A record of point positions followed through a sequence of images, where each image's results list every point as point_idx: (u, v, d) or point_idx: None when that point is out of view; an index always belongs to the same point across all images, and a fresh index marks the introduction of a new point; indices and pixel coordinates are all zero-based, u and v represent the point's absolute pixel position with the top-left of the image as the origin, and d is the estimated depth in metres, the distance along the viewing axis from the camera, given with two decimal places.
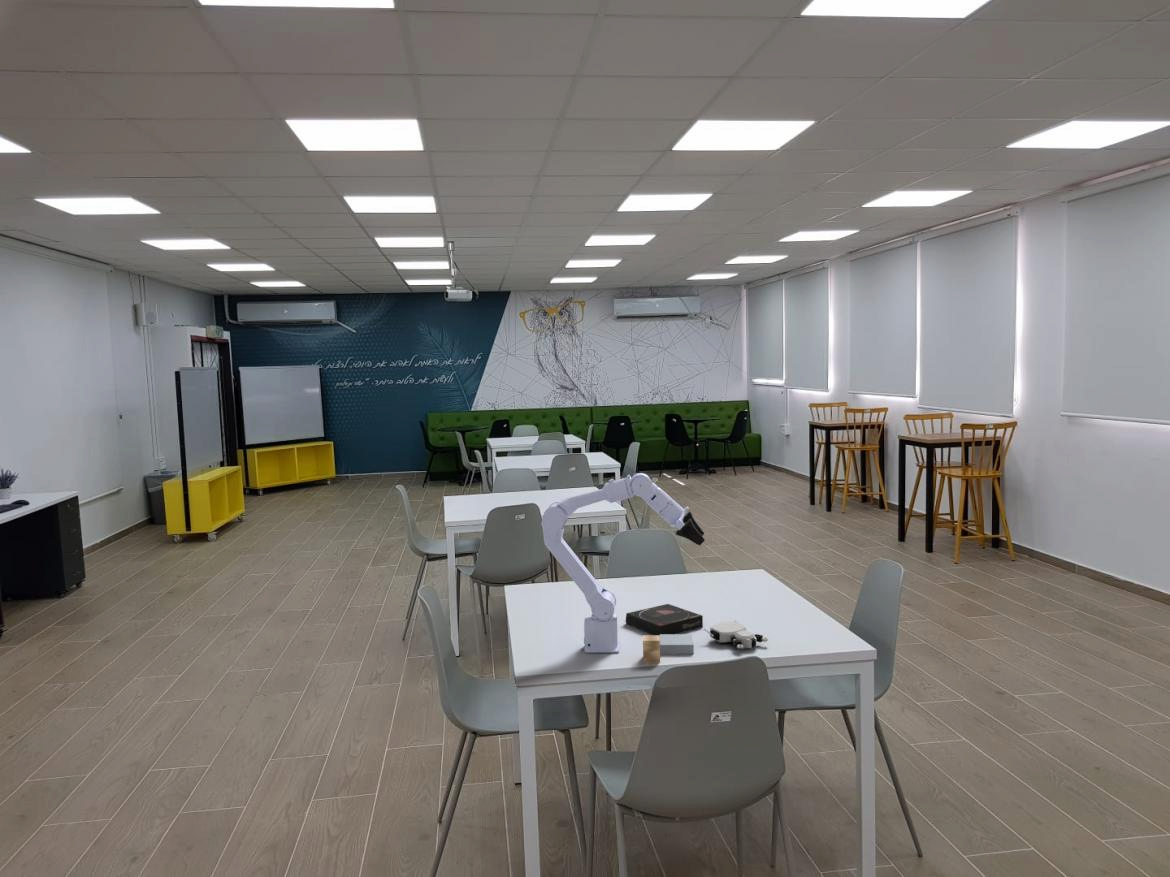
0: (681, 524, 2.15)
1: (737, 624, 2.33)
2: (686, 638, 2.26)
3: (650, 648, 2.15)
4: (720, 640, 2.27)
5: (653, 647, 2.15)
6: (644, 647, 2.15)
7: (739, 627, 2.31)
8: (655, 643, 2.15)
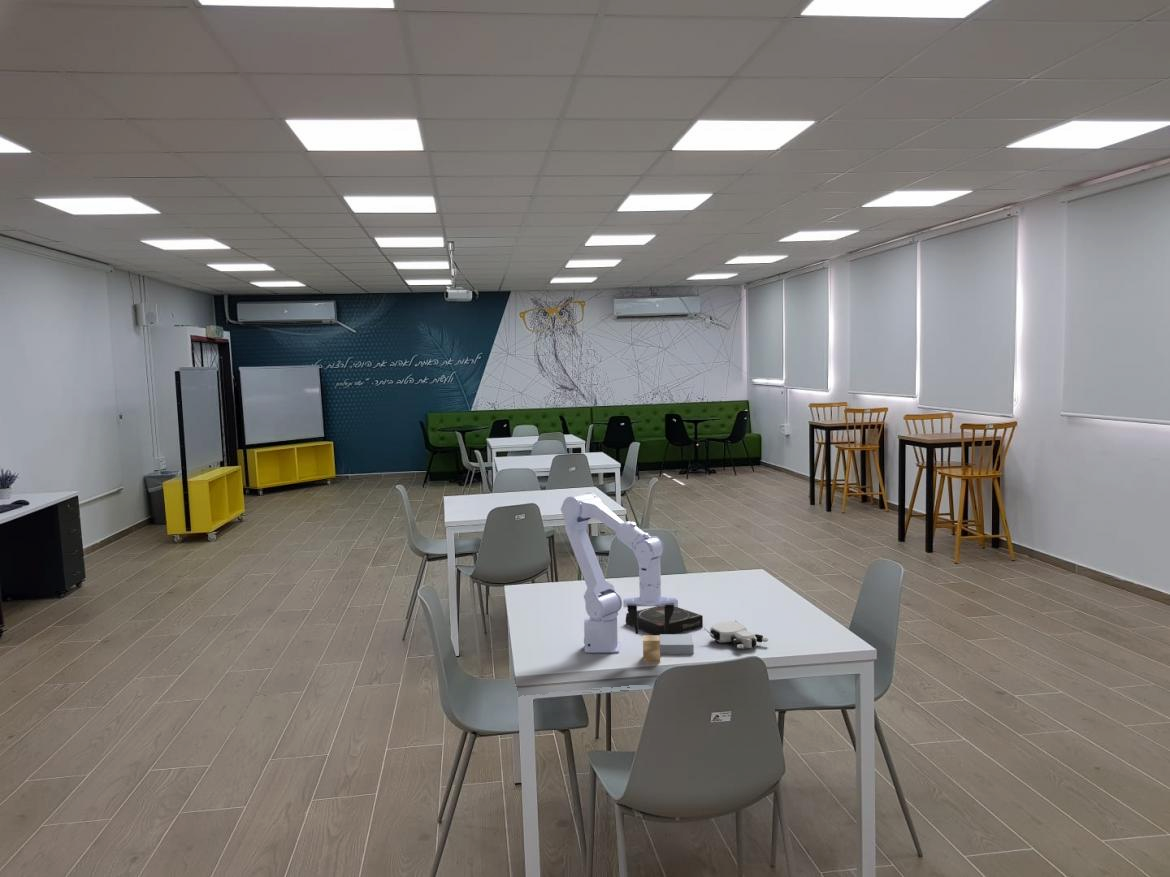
0: (623, 604, 2.16)
1: (737, 624, 2.33)
2: (686, 638, 2.26)
3: (650, 648, 2.15)
4: (720, 640, 2.27)
5: (653, 647, 2.15)
6: (644, 647, 2.15)
7: (739, 627, 2.31)
8: (655, 643, 2.15)
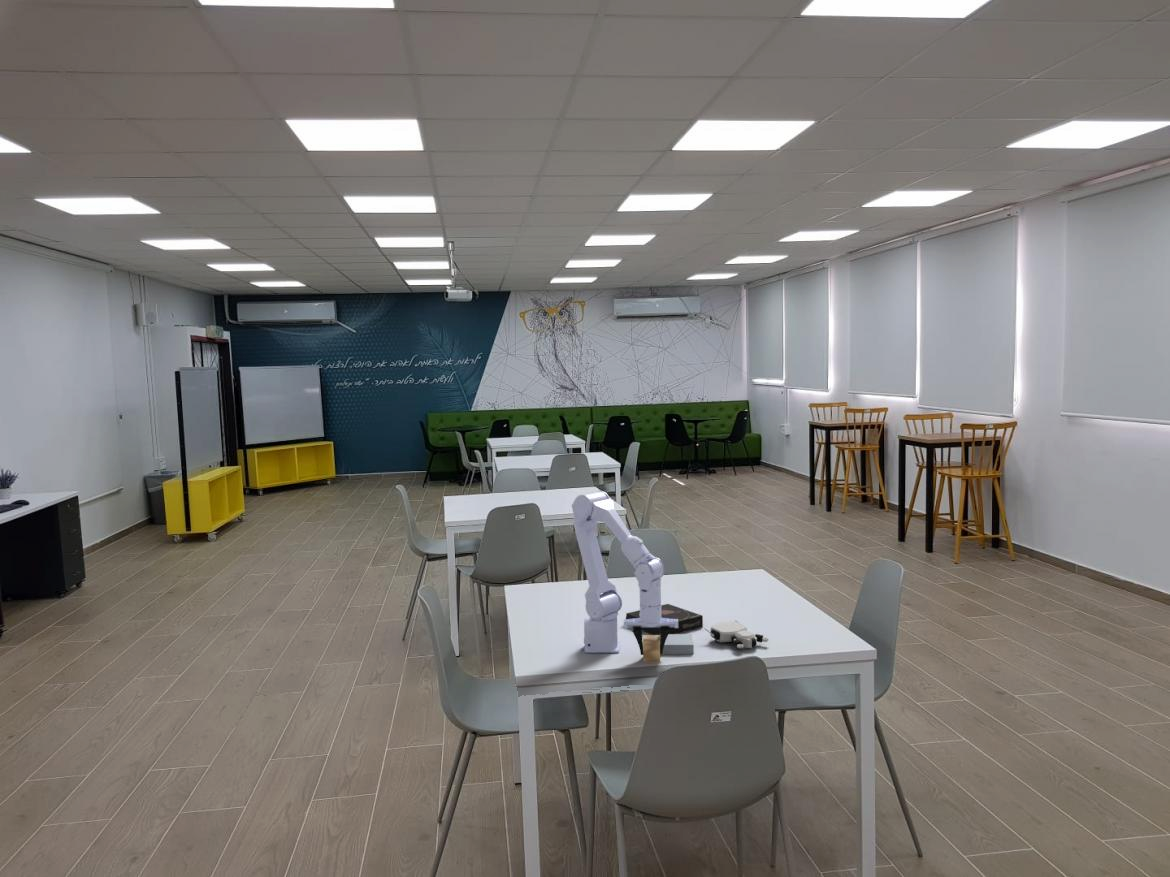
0: None
1: (738, 624, 2.33)
2: (686, 638, 2.26)
3: (650, 647, 2.15)
4: (720, 640, 2.27)
5: (653, 646, 2.15)
6: (644, 647, 2.15)
7: (739, 627, 2.31)
8: (655, 643, 2.15)
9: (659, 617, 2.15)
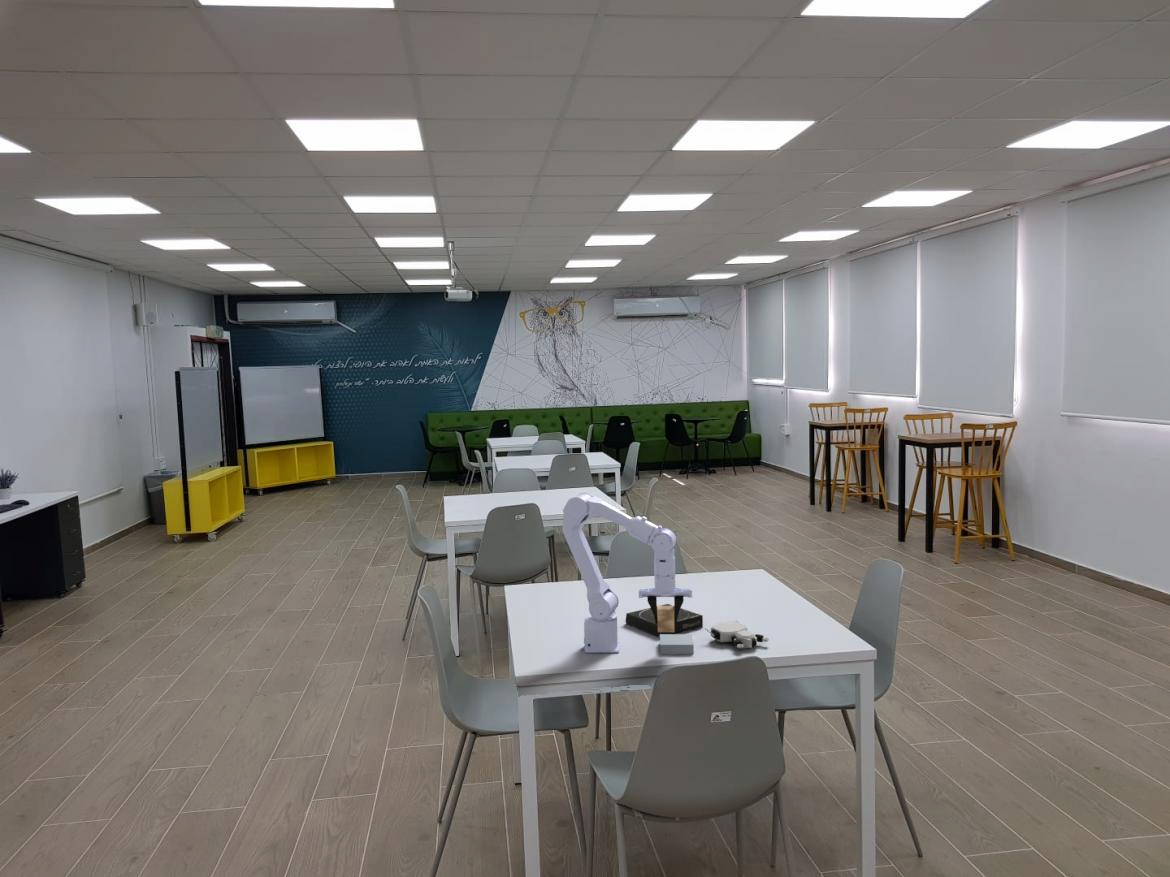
0: None
1: (738, 624, 2.33)
2: (686, 638, 2.26)
3: (664, 617, 2.19)
4: (721, 640, 2.27)
5: (668, 616, 2.19)
6: (658, 617, 2.19)
7: (740, 626, 2.31)
8: (669, 613, 2.19)
9: (673, 587, 2.19)
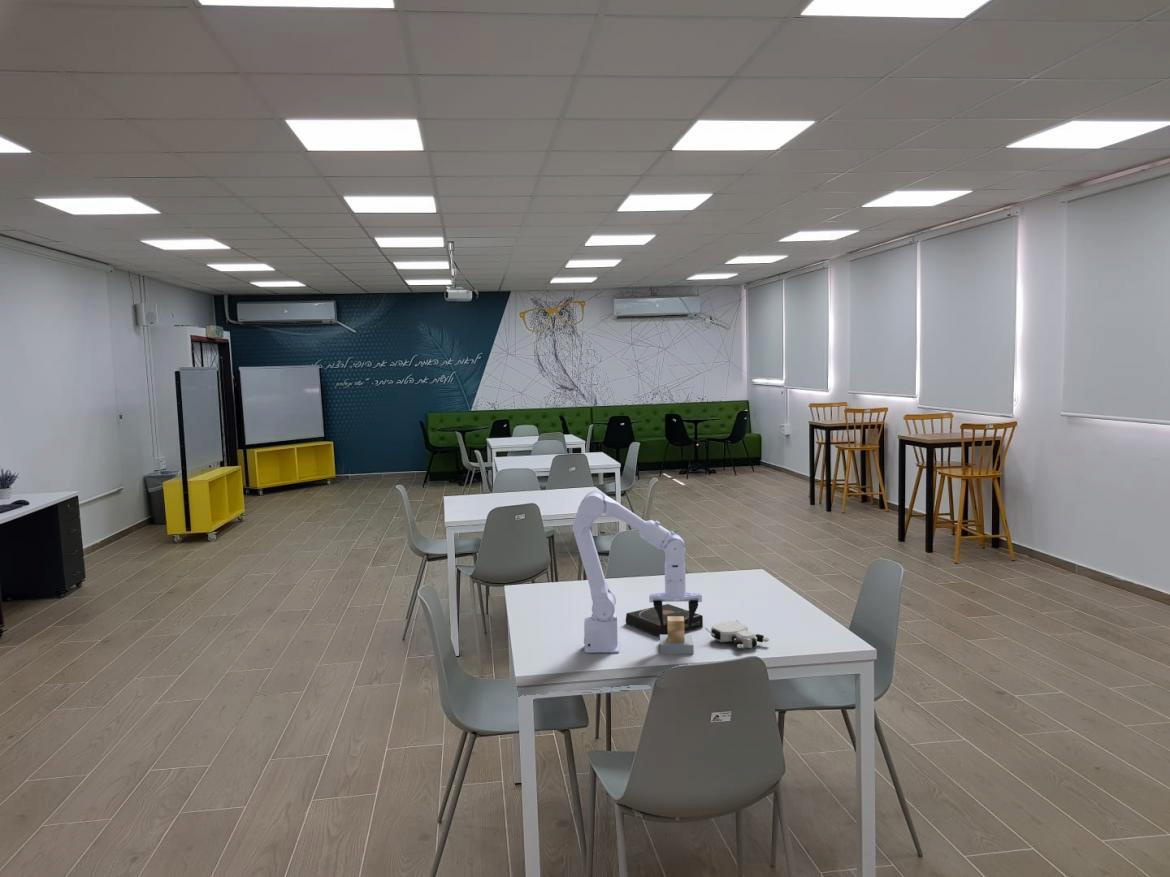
0: (649, 599, 2.25)
1: (739, 624, 2.33)
2: (686, 639, 2.26)
3: (674, 628, 2.23)
4: (721, 639, 2.27)
5: (678, 627, 2.23)
6: (669, 627, 2.23)
7: (740, 626, 2.31)
8: (679, 623, 2.23)
9: (683, 591, 2.23)
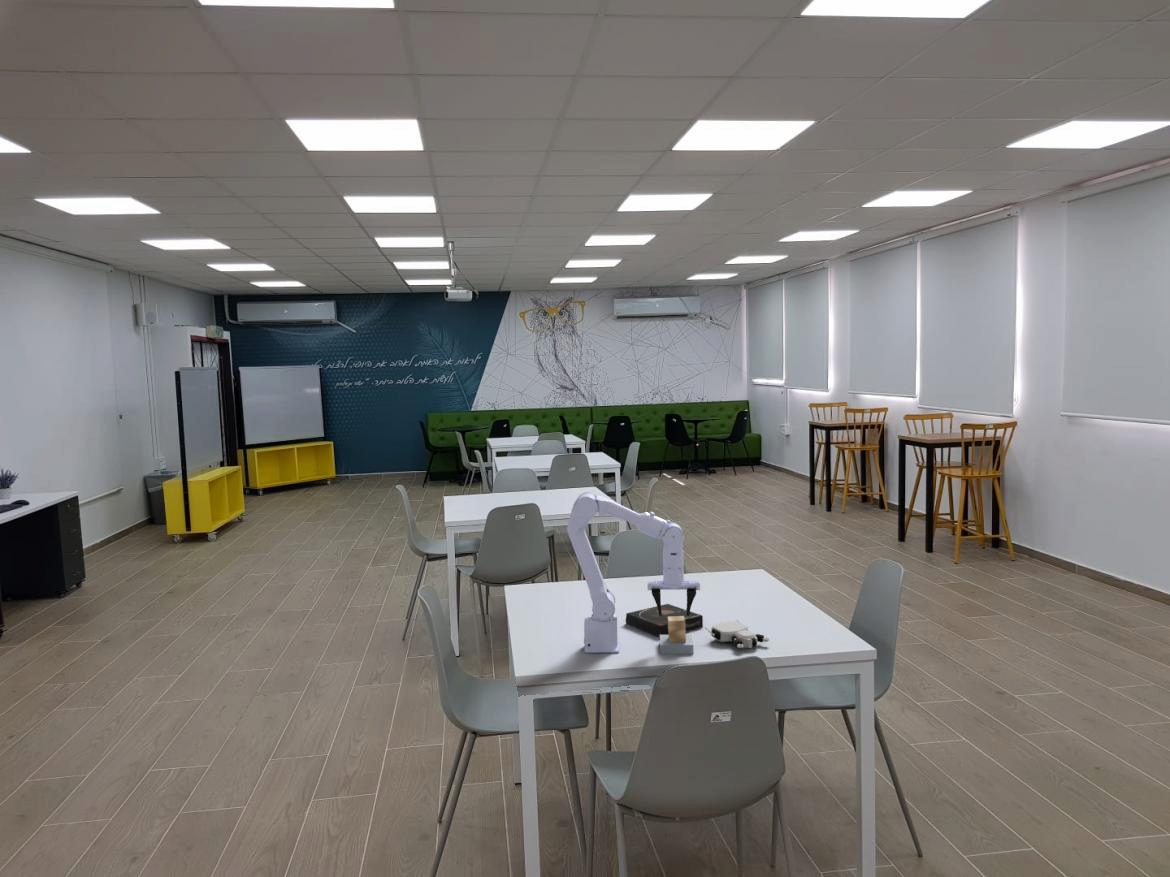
0: None
1: (739, 624, 2.33)
2: (686, 639, 2.26)
3: (676, 628, 2.23)
4: (721, 639, 2.27)
5: (679, 627, 2.23)
6: (670, 627, 2.23)
7: (740, 626, 2.31)
8: (680, 623, 2.23)
9: (682, 579, 2.23)
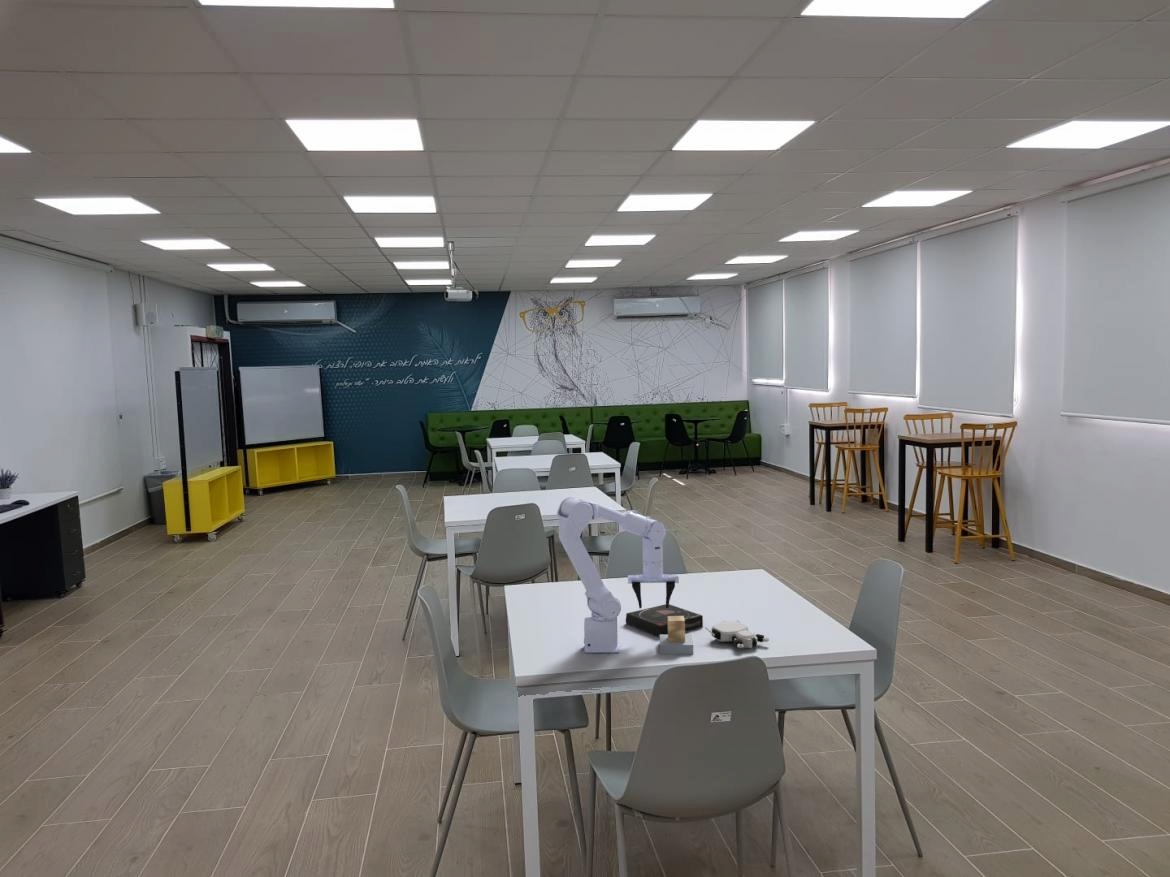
0: (628, 580, 2.33)
1: (739, 624, 2.33)
2: (686, 639, 2.26)
3: (675, 628, 2.23)
4: (721, 639, 2.28)
5: (678, 627, 2.23)
6: (669, 627, 2.23)
7: (740, 626, 2.31)
8: (680, 623, 2.23)
9: (661, 573, 2.31)
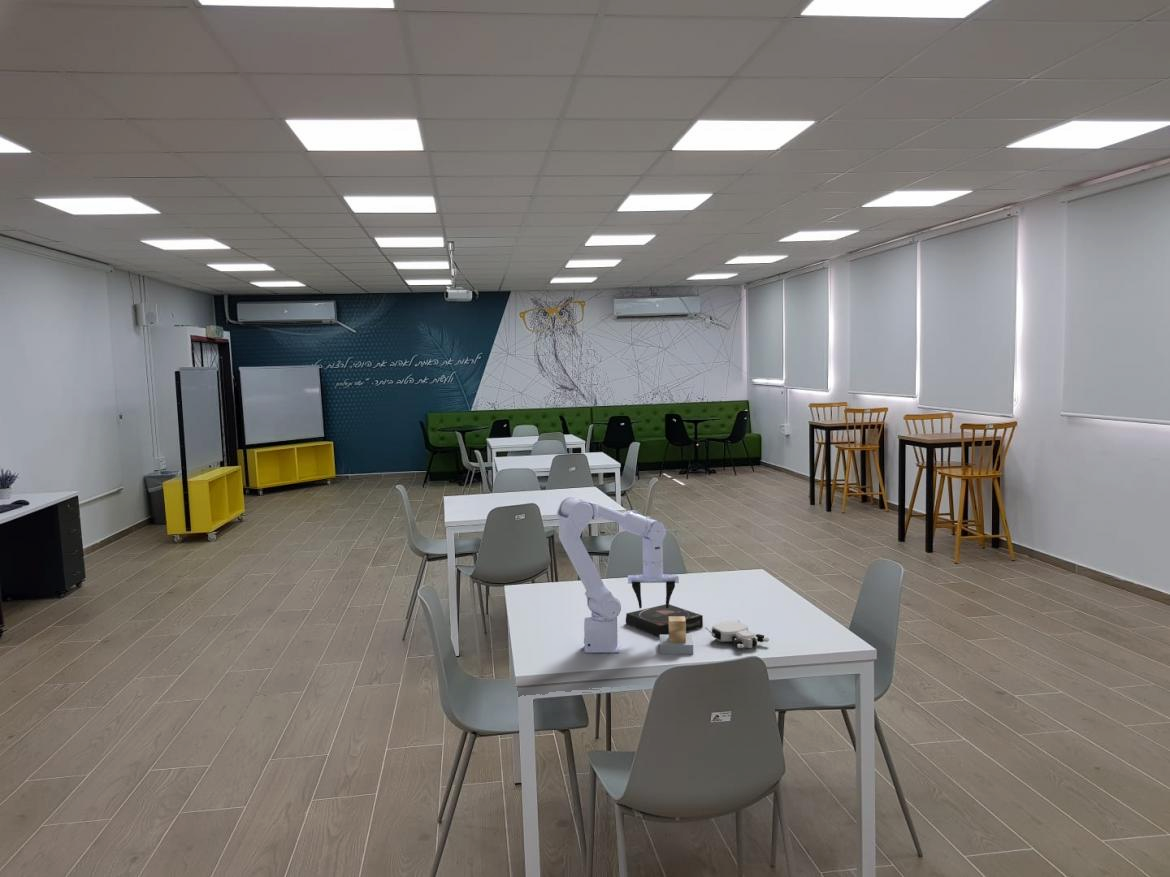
0: (628, 580, 2.33)
1: (739, 624, 2.33)
2: (686, 639, 2.26)
3: (676, 628, 2.23)
4: (721, 639, 2.28)
5: (679, 627, 2.23)
6: (670, 627, 2.23)
7: (741, 626, 2.31)
8: (681, 623, 2.23)
9: (661, 573, 2.31)
